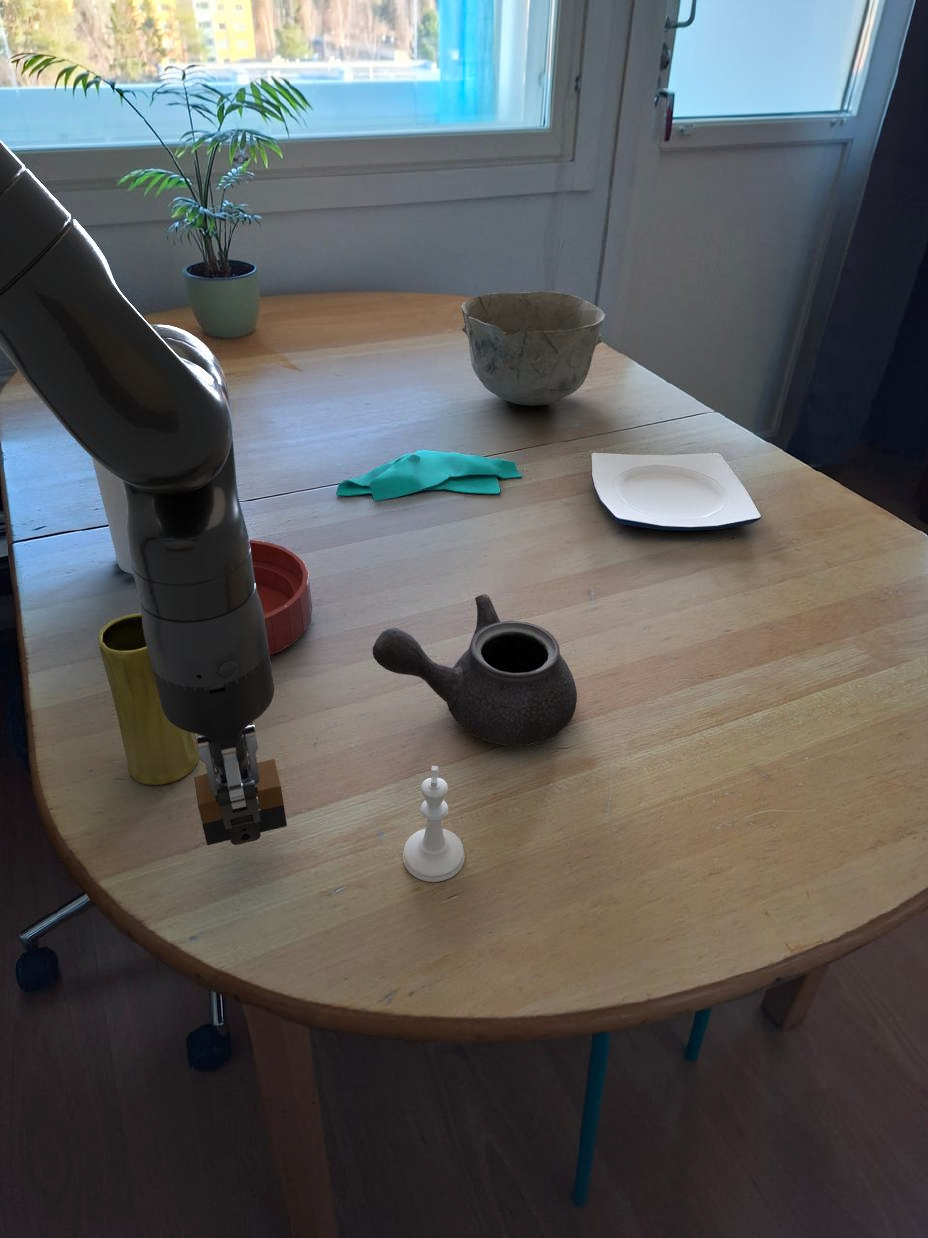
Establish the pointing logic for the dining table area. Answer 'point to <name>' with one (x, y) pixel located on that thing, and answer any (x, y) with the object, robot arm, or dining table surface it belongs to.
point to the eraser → (268, 804)
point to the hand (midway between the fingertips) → (242, 821)
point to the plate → (672, 491)
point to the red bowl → (281, 593)
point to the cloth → (431, 475)
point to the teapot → (494, 678)
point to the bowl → (531, 343)
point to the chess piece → (433, 837)
